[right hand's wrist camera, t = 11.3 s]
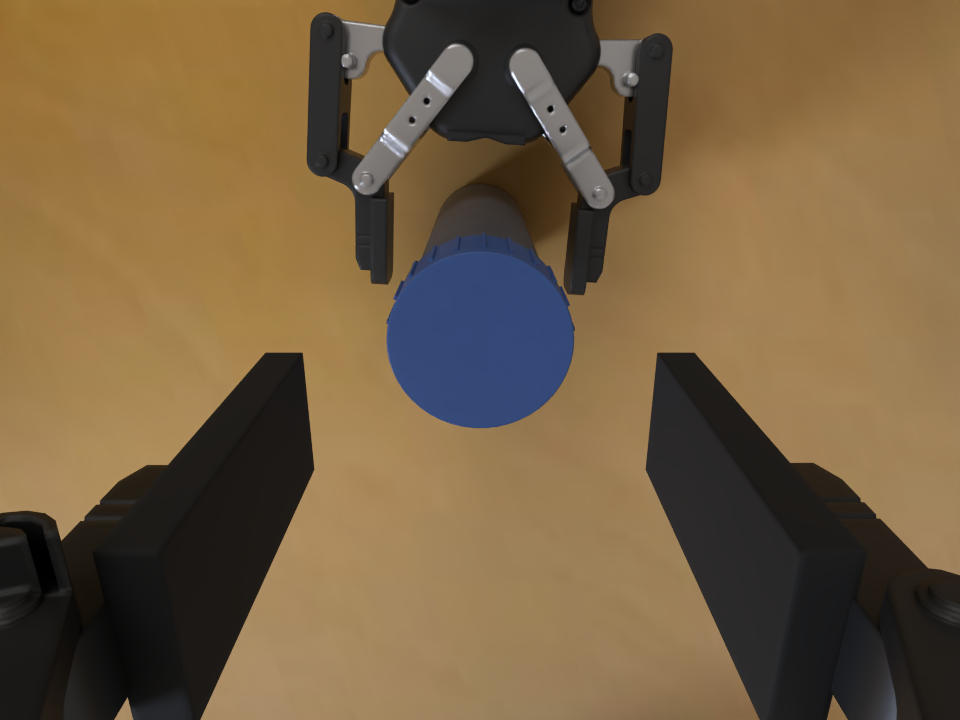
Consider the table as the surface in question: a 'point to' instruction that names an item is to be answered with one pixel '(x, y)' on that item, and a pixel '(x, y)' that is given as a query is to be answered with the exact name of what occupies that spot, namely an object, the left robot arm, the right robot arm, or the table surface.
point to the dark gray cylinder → (480, 217)
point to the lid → (480, 332)
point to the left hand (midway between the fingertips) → (477, 285)
